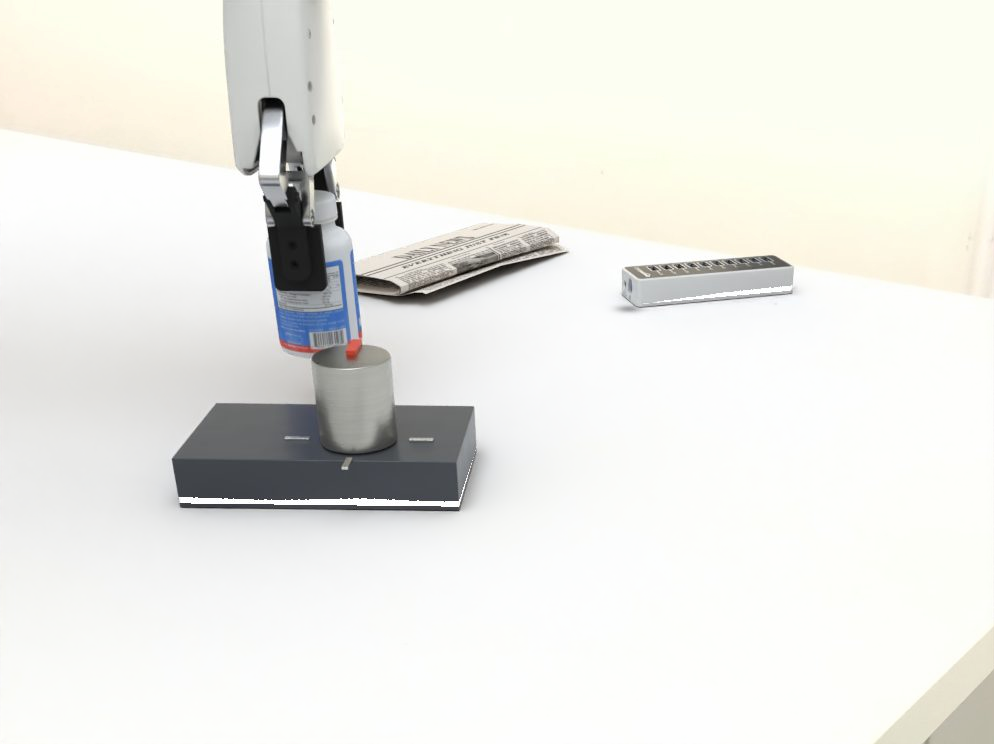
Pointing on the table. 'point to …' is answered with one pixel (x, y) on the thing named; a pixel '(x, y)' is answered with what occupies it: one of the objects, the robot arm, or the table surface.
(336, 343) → the pill bottle
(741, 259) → the multiport hub
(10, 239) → the table surface
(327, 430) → the hob knob
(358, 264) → the newspaper
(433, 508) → the panel
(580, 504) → the table surface
